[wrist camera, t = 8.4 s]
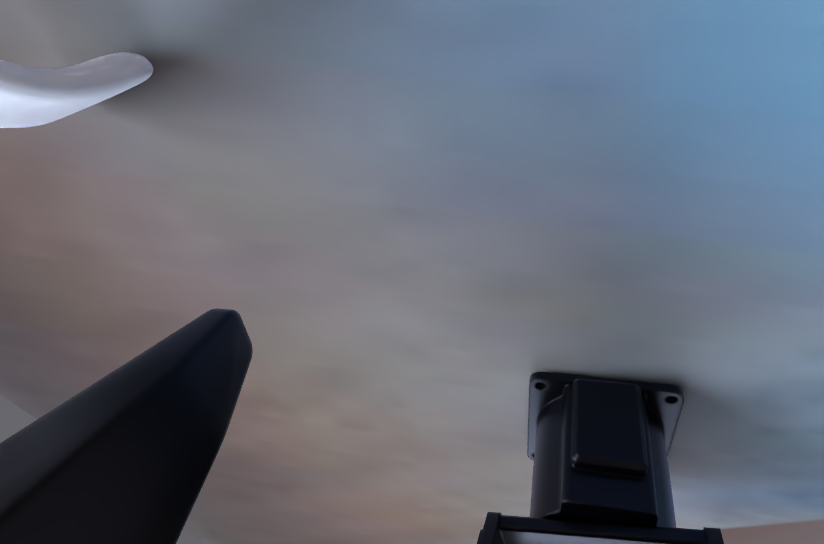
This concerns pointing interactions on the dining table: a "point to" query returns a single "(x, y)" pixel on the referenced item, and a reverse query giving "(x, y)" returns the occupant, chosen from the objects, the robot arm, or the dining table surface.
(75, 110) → the spoon rest
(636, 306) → the dining table surface
